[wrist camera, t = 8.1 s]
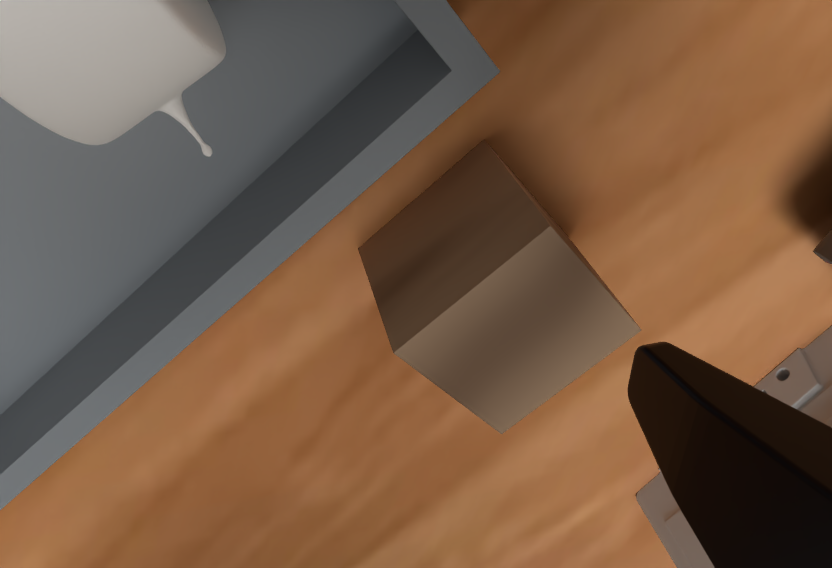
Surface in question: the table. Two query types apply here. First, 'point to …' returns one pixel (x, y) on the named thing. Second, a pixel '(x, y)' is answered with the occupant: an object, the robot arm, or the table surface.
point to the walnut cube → (490, 293)
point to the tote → (200, 200)
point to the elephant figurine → (105, 62)
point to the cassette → (789, 382)
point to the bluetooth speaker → (825, 248)
